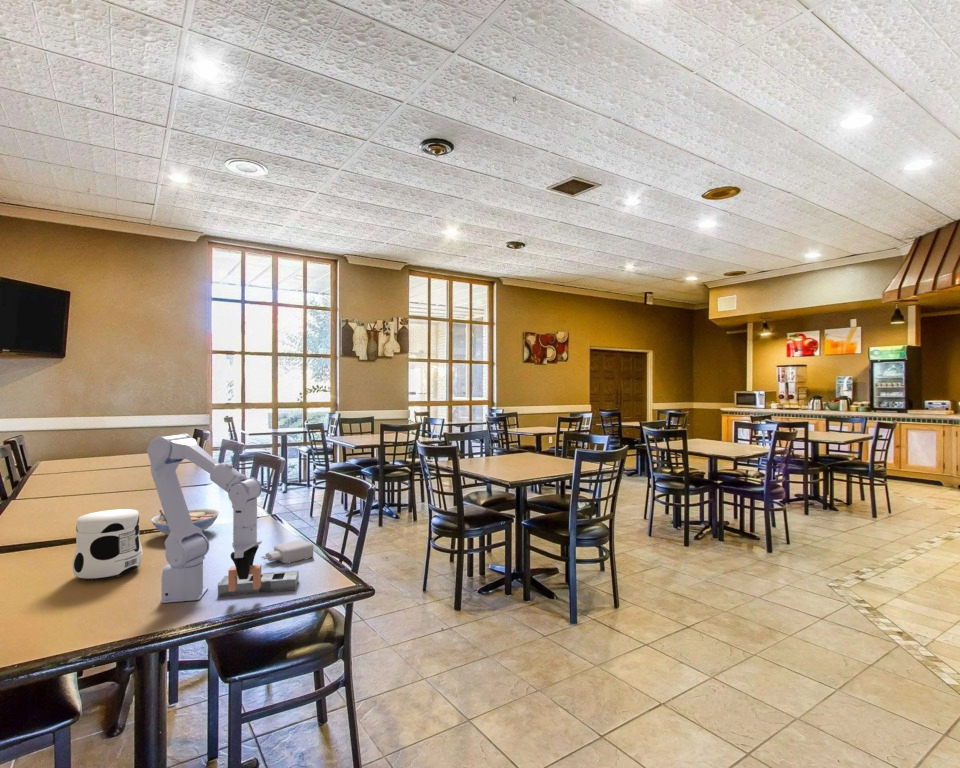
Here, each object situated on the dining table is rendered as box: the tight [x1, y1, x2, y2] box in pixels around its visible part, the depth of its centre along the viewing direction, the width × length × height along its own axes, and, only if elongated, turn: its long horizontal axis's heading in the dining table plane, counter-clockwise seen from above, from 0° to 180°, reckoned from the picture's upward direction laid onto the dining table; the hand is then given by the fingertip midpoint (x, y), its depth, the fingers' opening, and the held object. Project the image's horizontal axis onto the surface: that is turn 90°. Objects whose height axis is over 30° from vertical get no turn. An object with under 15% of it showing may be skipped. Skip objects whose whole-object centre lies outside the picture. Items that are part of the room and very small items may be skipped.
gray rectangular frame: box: [217, 570, 300, 597], centre depth 146 cm, size 20×7×3 cm, turn 102°
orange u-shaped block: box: [227, 564, 262, 592], centre depth 137 cm, size 8×3×6 cm, turn 102°
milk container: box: [71, 508, 144, 581], centre depth 157 cm, size 17×17×18 cm
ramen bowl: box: [150, 508, 220, 536], centre depth 198 cm, size 25×23×8 cm
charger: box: [260, 538, 314, 564], centre depth 170 cm, size 5×9×15 cm
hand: (244, 576), depth 137 cm, fingers closed on orange u-shaped block, 3 cm apart
